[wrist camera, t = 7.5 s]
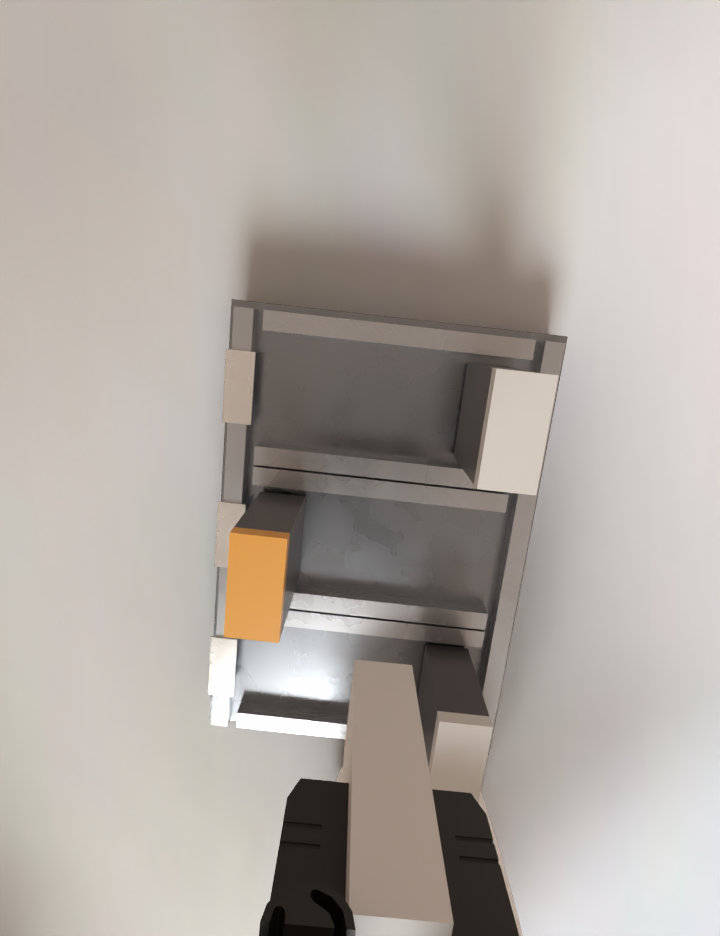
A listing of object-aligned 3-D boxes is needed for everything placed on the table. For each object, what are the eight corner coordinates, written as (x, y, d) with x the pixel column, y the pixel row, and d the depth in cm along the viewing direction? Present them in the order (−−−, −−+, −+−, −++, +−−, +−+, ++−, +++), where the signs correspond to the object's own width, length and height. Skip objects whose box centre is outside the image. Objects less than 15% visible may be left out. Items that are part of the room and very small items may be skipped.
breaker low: (414, 717, 26) (424, 810, 21) (425, 643, 26) (439, 721, 20) (455, 722, 26) (476, 816, 21) (467, 648, 26) (492, 727, 20)
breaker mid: (254, 575, 25) (223, 636, 20) (260, 491, 24) (229, 532, 19) (298, 580, 25) (278, 642, 20) (305, 496, 24) (287, 539, 19)
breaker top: (453, 456, 24) (476, 489, 18) (467, 362, 23) (496, 368, 17) (499, 461, 24) (536, 495, 18) (515, 368, 23) (558, 375, 17)
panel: (222, 687, 30) (204, 730, 26) (245, 303, 25) (226, 297, 22) (480, 715, 30) (493, 762, 26) (548, 337, 25) (575, 336, 22)
